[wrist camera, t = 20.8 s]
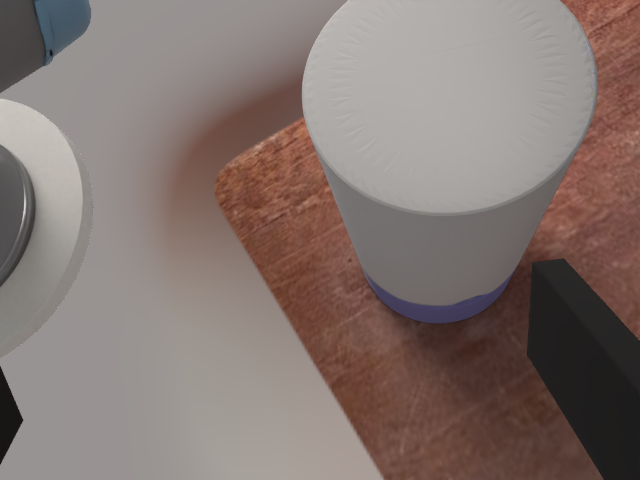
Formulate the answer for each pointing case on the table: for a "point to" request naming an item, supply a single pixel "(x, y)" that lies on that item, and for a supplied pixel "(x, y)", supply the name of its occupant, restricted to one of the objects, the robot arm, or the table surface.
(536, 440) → the table surface
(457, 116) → the container
